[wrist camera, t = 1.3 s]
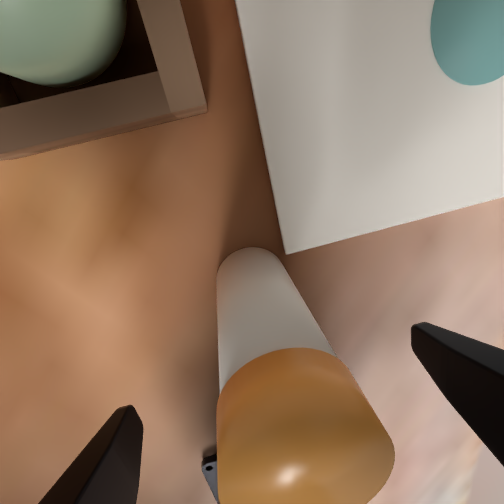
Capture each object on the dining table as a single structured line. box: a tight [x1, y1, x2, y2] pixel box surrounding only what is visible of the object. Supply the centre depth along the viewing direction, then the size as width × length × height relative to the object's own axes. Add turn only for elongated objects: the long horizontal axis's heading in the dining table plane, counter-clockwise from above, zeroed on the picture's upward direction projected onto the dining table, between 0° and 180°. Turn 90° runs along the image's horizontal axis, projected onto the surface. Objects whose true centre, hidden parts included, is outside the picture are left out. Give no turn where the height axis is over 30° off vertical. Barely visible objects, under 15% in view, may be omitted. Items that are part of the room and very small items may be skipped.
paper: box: [235, 0, 504, 255], centre depth 12 cm, size 14×16×1 cm
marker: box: [216, 247, 395, 504], centre depth 10 cm, size 4×4×9 cm
